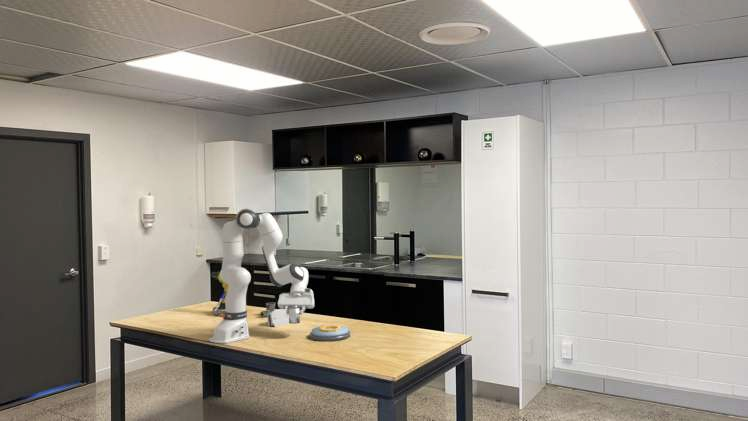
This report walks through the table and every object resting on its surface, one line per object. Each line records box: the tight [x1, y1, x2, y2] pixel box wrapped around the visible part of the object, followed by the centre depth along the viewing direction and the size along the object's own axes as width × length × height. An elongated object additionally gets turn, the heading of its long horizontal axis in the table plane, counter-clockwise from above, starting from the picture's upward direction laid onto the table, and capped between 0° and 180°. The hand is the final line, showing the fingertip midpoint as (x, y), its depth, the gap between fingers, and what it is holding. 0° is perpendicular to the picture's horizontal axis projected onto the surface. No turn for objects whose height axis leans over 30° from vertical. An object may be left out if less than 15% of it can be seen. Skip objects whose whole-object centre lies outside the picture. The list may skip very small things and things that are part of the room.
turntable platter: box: [311, 325, 349, 337], centre depth 300 cm, size 20×20×3 cm
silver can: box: [288, 305, 301, 325], centre depth 299 cm, size 6×6×9 cm
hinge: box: [266, 308, 290, 328], centre depth 333 cm, size 17×5×10 cm, turn 146°
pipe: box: [259, 301, 277, 318], centre depth 356 cm, size 6×13×8 cm, turn 152°
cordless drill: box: [210, 271, 228, 317], centre depth 368 cm, size 18×19×28 cm
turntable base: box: [309, 329, 351, 343], centre depth 300 cm, size 22×22×2 cm
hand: (294, 313), depth 299 cm, fingers closed on silver can, 6 cm apart
